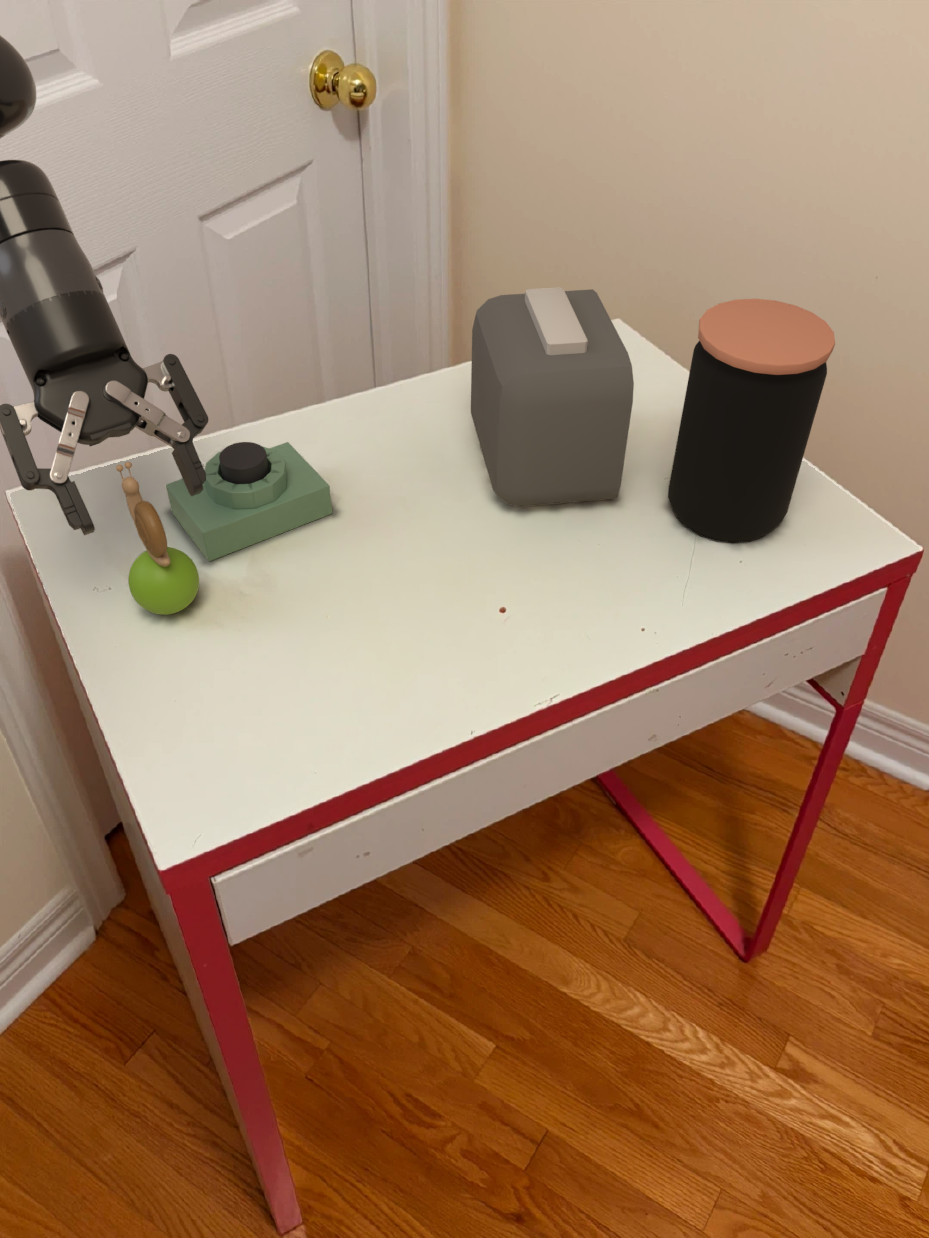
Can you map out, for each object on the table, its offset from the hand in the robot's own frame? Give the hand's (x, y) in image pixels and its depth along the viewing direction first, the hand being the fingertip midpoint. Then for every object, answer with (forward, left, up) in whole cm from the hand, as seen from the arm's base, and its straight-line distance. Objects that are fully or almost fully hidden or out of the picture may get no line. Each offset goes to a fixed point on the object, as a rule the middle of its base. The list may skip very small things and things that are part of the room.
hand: (144, 512), depth 79 cm
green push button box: (+11, +7, -10) cm, 16 cm away
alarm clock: (+37, -1, -10) cm, 38 cm away
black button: (+11, +7, -5) cm, 14 cm away
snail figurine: (0, 0, -10) cm, 10 cm away
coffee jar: (+47, -16, -10) cm, 50 cm away
